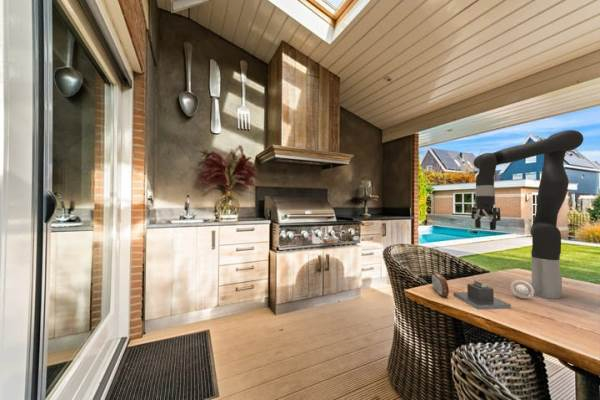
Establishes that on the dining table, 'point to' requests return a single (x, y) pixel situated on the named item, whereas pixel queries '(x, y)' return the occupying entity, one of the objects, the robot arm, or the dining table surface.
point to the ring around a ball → (522, 289)
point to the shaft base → (481, 304)
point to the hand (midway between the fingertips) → (485, 228)
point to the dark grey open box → (480, 293)
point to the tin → (440, 284)
